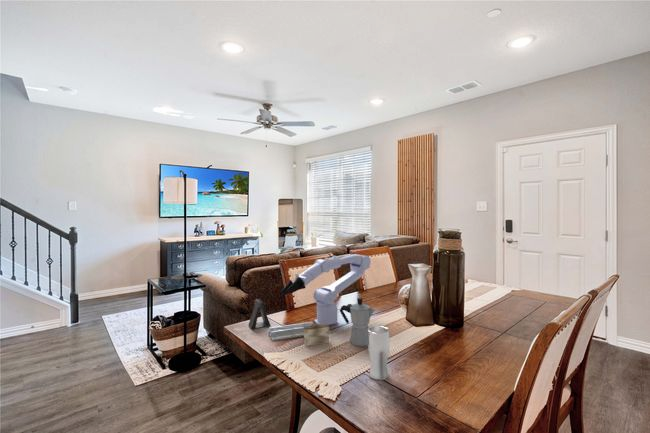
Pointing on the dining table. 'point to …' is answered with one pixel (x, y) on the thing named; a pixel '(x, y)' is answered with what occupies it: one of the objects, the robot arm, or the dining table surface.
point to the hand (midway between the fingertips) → (285, 292)
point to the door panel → (316, 334)
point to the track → (288, 331)
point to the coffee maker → (358, 322)
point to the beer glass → (378, 351)
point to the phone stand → (254, 316)
